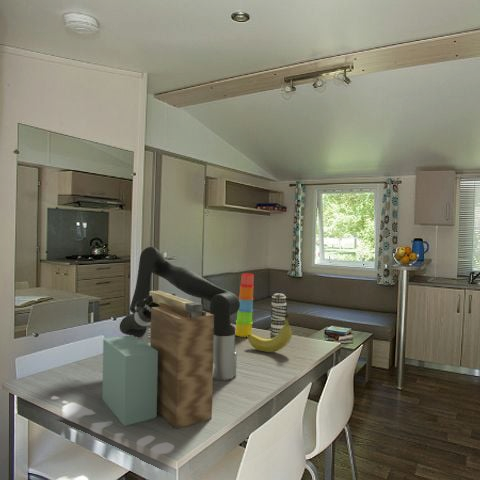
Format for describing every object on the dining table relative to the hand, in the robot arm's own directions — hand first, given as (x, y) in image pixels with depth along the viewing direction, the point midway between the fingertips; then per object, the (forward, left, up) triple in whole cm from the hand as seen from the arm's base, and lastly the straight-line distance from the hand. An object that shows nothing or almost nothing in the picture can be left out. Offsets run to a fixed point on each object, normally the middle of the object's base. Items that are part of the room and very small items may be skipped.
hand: (163, 297), depth 137 cm
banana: (-65, -20, -35) cm, 76 cm away
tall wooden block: (0, +14, -34) cm, 37 cm away
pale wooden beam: (0, +8, -2) cm, 8 cm away
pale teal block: (+13, +3, -34) cm, 37 cm away
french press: (-20, -64, -35) cm, 76 cm away
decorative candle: (-83, -34, -35) cm, 96 cm away
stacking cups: (-73, -52, -35) cm, 96 cm away
